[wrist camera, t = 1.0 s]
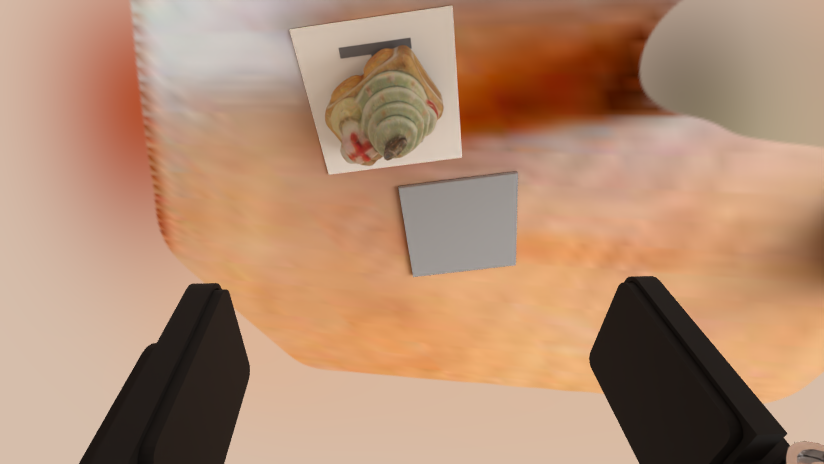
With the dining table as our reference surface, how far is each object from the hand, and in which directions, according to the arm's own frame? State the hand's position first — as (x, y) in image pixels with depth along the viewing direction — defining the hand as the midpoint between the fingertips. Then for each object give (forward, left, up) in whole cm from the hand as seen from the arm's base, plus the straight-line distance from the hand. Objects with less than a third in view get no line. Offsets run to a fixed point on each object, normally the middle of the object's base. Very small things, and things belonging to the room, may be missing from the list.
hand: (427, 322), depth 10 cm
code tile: (+2, +2, -24) cm, 24 cm away
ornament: (+2, +2, -24) cm, 24 cm away
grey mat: (-3, +14, -24) cm, 28 cm away
